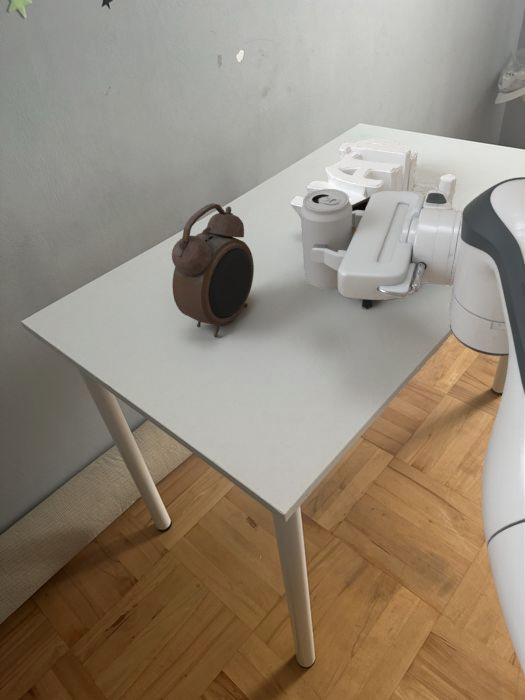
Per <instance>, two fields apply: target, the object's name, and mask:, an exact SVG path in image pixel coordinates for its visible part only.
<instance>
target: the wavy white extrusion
mask: <svg viewBox="0 0 525 700" xmlns="http://www.w3.org/2000/svg"><path fill="white" fill-rule="evenodd" d="M338 149H339V156H340V160H338V161H337V163H335V164H331V165H328V166H326V167H324V170H325V173H326V176H327V181H321V180H313V181H311V182H310V183H309V184H307V186H306V190H307V191H308V194H309V193H311V192H314V191H317V190H322V189H336V190H340V191H343V192H345V193H346V194H347V195H348V196H349V202H350V204H351V205H353V204H355V203H358V202H360V201H362V200H364V199H366V198H369V197H371V195H372V194H374V193H377V192H381V191H412V192H413V187H414V181H415V174H416V169H417V168H416V167H417V162H418V156H419V152H417V151H416V149H414V148H412V147H411V146H408V145H406V144H404V143H401V142H397V141H393V140H389V139H382V138H370V139H368V138H367V139H364V140H359V141H358V142H357V141H356V142H352V141H343V142H342V144H341V145H340V146H339V148H338ZM304 197H305V196H304ZM304 197H303V196H300V195H297V196H295V197H294V198H293V199H292V200H291V201H290V202H289V205H290V206H291V207H292V209H293V210H294V211H295V213H297V215H298V216H299V218H301V207H302V206H303V199H304Z"/></svg>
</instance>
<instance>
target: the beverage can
mask: <svg viewBox="0 0 525 700" xmlns="http://www.w3.org/2000/svg"><path fill="white" fill-rule="evenodd" d="M300 224H301V238H302V240H301V241H302V255H303V257H302V258H303V270H304V271H303V273H304V278H305V280H306V282H307V283H308V284H310V285H311V286H312V287H314V288H315V287H316V288H318V289H322V290H334V289H335V290H336V289H338V271H336V270H334V269H332V268H331V267H329V266H328V265H326V264H324V263H320V262H313V261H312V260H311V254H310V252H311V250H312V248H313V246H314V245H315V244H320V245H321V244H323V245H327V249H330V250H332V251H334V252H337V253H338V250H345V251H347V249H348V247H349V245H350V242H351V240H352V205H351V204H350V202H349V196H348V195H347V194H346V193H345V192H343V191H340V190H336V189H322V190H317V191H314V192H311V193H309V192H308V194H306V195H305V196H304V199H303V206H302V207H301V217H300Z"/></svg>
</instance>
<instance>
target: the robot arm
mask: <svg viewBox="0 0 525 700" xmlns="http://www.w3.org/2000/svg"><path fill="white" fill-rule="evenodd" d="M453 208H454V207H453V205H452V206H451V205H450V203H449V201H448V199H447V197H446V195H445V193H444V192H442V191H439V190H428V191H427V192H426V195H425V194H424V193H421V192H419V191H413V190H412V191H381V192H377V193H374V194H372V195H371V198H370V200H369V202H368V204H367V207H366V209H365V211H363V210H355V211H352V227H355V229H356V231H355V233H354V236H353V238H352V240H351V242H350V245H349V247H348V249H347V251H345V250H338V253H337V252H334V251H332V250H330V249H327V245H323V244H321V245H320V244H315V245H314V246H313V248H312V250H311V252H310V254H311V260H312V261H313V262H320V263H324V264H326V265H328V266H329V267H331V268H332V269H334V270H336V271H338V288H337V291H338V293H339V294H340V295H342V296H343V297H344V298H347V299H356V300H362V299H370V300H372V301H373V300H374V301H375V300H376V301H385V300H386V301H388V300H394V299H398V298H401V299H402V298H407V297H408V296H411V295H413V294H414V293H418V292H419V291H420V289H421V287H422V283H424V284H433V285H441V286H452V291H451V296H450V302H449V307H448V308H449V309H448V319H449V328H450V331H451V333H452V336H453V337H455V339H456V340H457V341H458V342H459V343H460V344H461V345H463V346H464V347H466V348H467V349H469V350H472V351H473V352H476V353H479V354H481V355H482V354H483V355H485V356H493V357H504V356H505V357H506V356H508V360H507V368H506V377H505V382H504V385H503V390H502V395H501V398H500V402H499V405H498V409H497V413H496V416H495V419H494V422H493V426H492V430H491V432H490V436H489V439H488V442H487V446H486V450H485V453H484V458H483V461H482V462H483V463H482V469H481V489H480V491H481V494H480V495H481V496H480V497H481V499H480V500H481V503H480V504H481V520H482V528H483V534H484V539H485V545H486V551H487V556H488V560H489V561H488V562H489V565H490V570H491V571H490V572H491V574H492V575H491V576H492V579H493V584H494V588H495V591H496V596H497V599H498V602H499V606H500V609H501V613H502V617H503V619H504V623H505V626H506V629H507V633H508V635H509V638H510V641H511V643H512V647H513V649H514V653H515V655H516V658H517V660H518V662H519V666H520V668H521V671H522V673H523V676H524V677H525V176H524V177H523V176H521V177H520V176H519V177H512V178H508V179H505V180H502V181H500V182H498V183H496V184H494V185H492V186H490V187H489V188H487V189H485V190H484V191H483V192H481V193H480V194H478V195H477V196H476V197H475V198H474V199H472V200H471V201H470V202H469V203H468V204H466V205H465V207H464V208H463V210H458V209H456V210H453Z"/></svg>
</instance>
